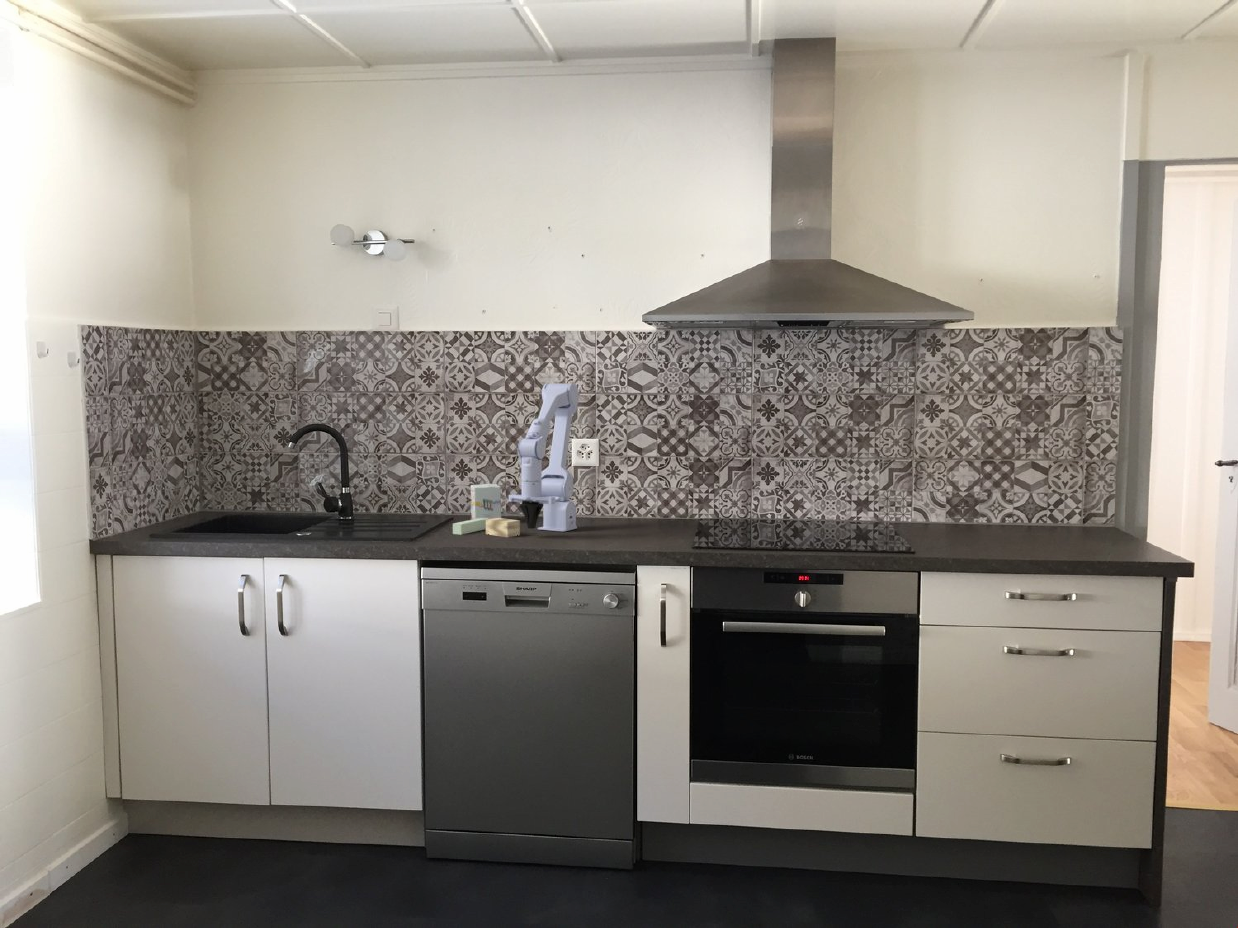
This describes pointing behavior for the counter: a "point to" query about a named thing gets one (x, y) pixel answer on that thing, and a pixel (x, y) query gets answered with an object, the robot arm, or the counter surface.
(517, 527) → the block
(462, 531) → the rail
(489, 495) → the ink box
